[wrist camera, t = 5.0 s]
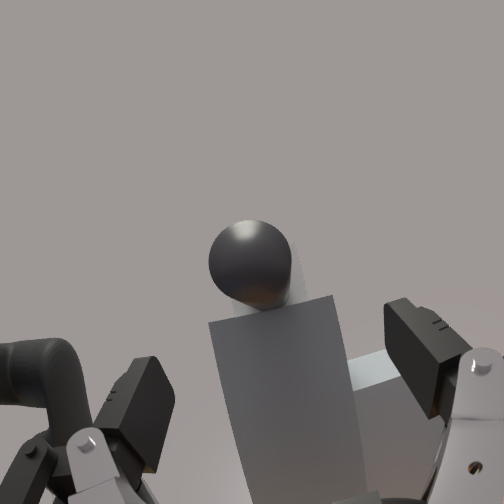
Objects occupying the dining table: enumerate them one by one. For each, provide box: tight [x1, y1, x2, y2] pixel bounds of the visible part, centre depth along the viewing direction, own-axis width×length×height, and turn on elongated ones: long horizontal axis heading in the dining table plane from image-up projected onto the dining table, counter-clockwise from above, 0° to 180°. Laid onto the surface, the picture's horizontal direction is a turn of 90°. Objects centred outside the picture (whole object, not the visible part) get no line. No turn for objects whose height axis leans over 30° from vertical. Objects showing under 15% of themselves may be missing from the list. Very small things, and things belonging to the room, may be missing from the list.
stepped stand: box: [209, 295, 445, 504], centre depth 26 cm, size 19×15×32 cm
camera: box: [209, 220, 309, 317], centre depth 26 cm, size 7×23×7 cm, turn 173°
